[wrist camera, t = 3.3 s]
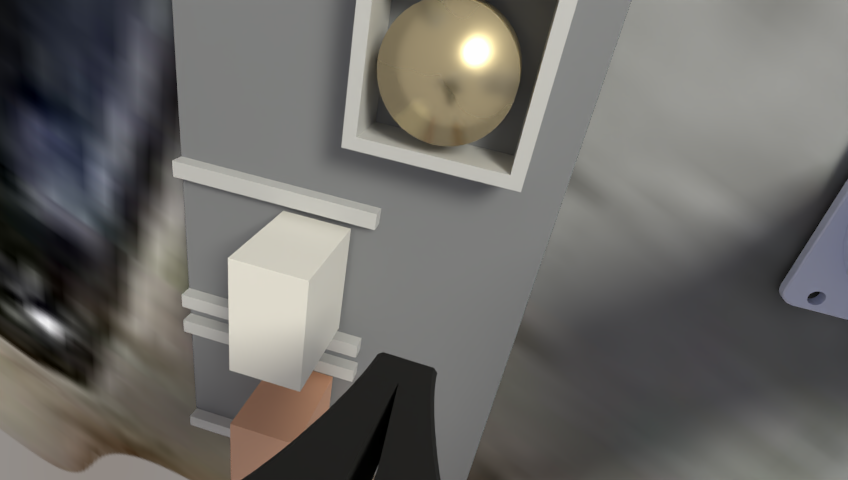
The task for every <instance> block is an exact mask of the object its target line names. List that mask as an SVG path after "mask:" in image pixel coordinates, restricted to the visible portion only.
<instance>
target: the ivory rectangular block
mask: <svg viewBox="0 0 848 480" xmlns="http://www.w3.org/2000/svg"><path fill="white" fill-rule="evenodd" d="M350 233H351V229H350V228H346V227H343V226H339V225H335V224H331V223H328V222H324V221H320V220H316V219H313V218H309V217H305V216H301V215H298V214H294V213H290V212H286V211H282V212H281V213H280V214H279V215H278V216H277V217H275V218H274V219H273V220H272V221H271V222H270V223H268V224H267V225H266V226H265V227H264V228H262V229H261V230H260V231H259V232H258V233H257V234H255V235H254V236H253V237H252V238H251V239H250V240H248V241H247V242H246V243H245V244H244V245H243V246H241V247H240V248H239V249H238V250H237V251H235V252H234V253H233V254H232V255H231V256H230V257H228V305H229V370H231V371H234V372H237V373H240V374H244V375H247V376H250V377H253V378H257V379H260V380H263V381H266V382H270V383H273V384H276V385H279V386H283V387H286V388H289V389H292V390H296V391H299V392H300V391H301V390H302V388H303V386H304V385H305V383H306V381H307V380H308V378H309V376H310V375H311V373H312V371H313V370H314V368H315V367H316V365H317V363H318V362H319V360H320V358H321V357H322V355H323V353H324V352H325V350H326V348H327V347H328V345H329V343H330V342H331V340H332V339H333V337H334V335H335V334H336V332H337V330H338V329H339V323H340V315H341V307H342V299H343V291H344V282H345V274H346V266H347V258H348V250H349V241H350Z"/></svg>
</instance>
